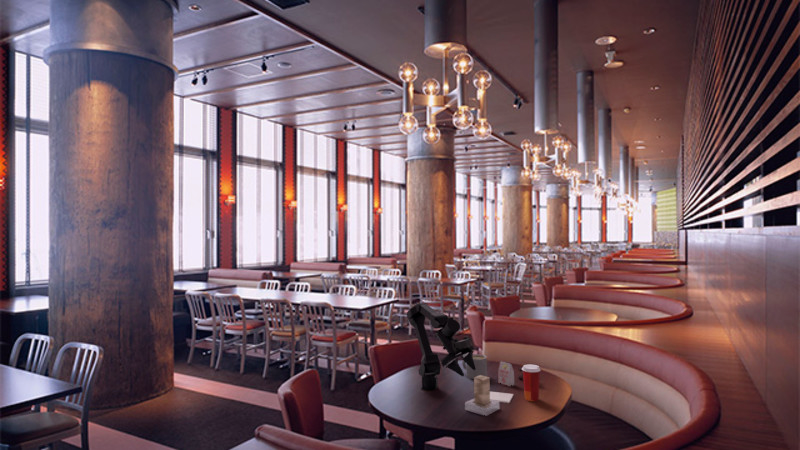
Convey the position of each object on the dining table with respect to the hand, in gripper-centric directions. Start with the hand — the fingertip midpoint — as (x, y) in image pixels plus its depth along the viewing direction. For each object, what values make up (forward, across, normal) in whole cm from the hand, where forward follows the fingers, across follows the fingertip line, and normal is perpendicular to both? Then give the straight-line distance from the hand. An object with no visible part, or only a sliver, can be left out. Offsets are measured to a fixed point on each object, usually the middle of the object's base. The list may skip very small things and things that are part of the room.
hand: (469, 372), depth 206 cm
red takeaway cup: (+16, +41, +4) cm, 44 cm away
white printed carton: (+11, +32, +10) cm, 36 cm away
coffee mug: (0, +34, +24) cm, 42 cm away
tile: (+13, +13, +5) cm, 19 cm away
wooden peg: (+15, -3, +3) cm, 15 cm away
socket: (+15, -3, +3) cm, 15 cm away
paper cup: (+22, +20, -5) cm, 30 cm away
